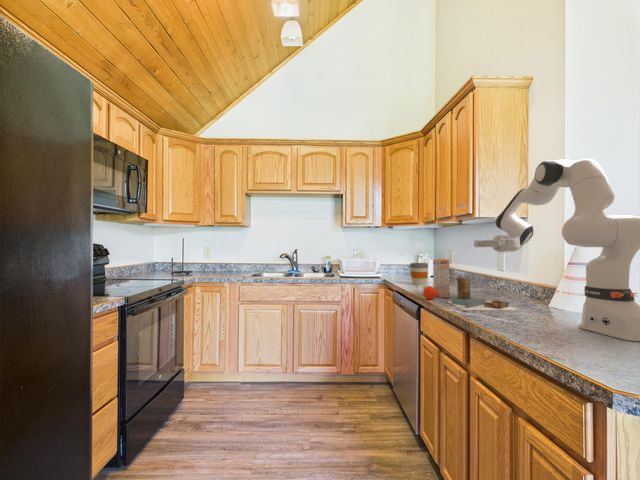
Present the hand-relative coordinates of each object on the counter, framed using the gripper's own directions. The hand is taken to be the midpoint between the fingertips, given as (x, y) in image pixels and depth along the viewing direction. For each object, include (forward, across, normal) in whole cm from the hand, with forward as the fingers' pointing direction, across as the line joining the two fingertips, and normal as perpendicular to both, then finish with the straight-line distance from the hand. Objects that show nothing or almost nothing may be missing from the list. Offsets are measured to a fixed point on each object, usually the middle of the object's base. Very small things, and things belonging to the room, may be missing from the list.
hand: (487, 243), depth 156 cm
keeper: (+9, +8, +29) cm, 31 cm away
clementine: (+13, -25, +30) cm, 41 cm away
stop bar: (+14, -4, +29) cm, 32 cm away
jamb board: (+12, +2, +30) cm, 32 cm away
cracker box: (-1, -27, +29) cm, 40 cm away
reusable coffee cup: (-33, -66, +28) cm, 79 cm away
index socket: (+14, -4, +30) cm, 33 cm away
